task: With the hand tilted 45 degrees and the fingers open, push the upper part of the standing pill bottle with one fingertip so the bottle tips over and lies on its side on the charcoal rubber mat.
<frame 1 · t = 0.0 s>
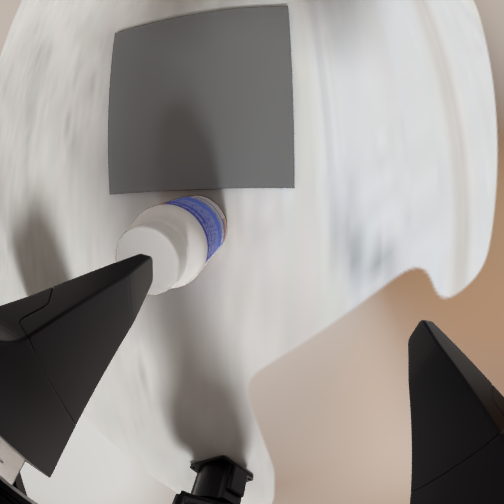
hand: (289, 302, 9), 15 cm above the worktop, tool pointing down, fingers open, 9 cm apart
rubber mat: (193, 94, 22), on the worktop
pill bottle: (197, 227, 25), on the worktop
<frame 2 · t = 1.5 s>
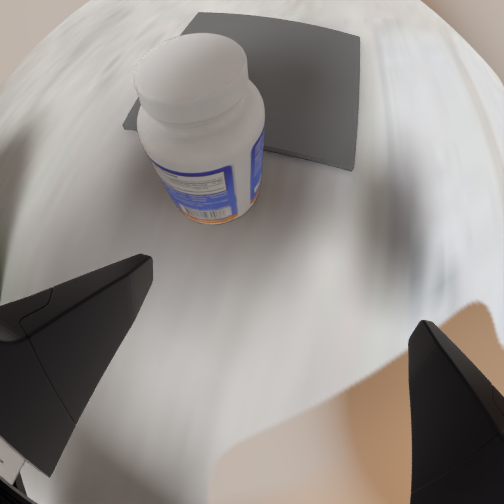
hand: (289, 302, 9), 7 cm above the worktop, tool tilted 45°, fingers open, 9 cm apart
rubber mat: (258, 67, 21), on the worktop
pill bottle: (216, 187, 18), on the worktop
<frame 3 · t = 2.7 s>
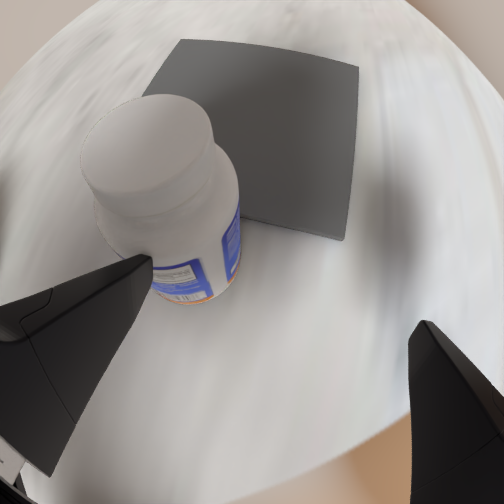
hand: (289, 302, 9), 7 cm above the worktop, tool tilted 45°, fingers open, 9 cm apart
rubber mat: (243, 110, 20), on the worktop
pill bottle: (192, 260, 17), on the worktop, touching gripper
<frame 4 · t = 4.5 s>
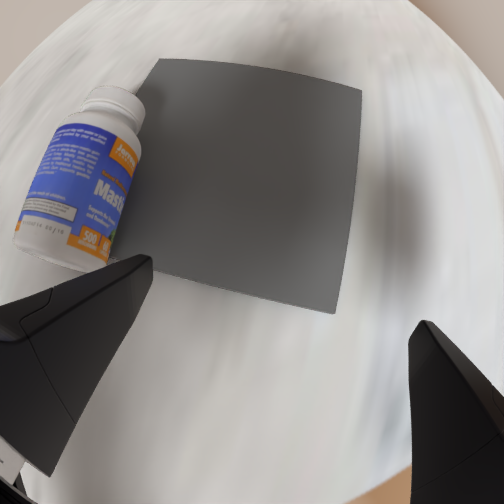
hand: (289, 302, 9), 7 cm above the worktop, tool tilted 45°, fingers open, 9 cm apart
rubber mat: (225, 152, 18), on the worktop
pill bottle: (55, 265, 13), point 3 cm above the worktop, touching rubber mat
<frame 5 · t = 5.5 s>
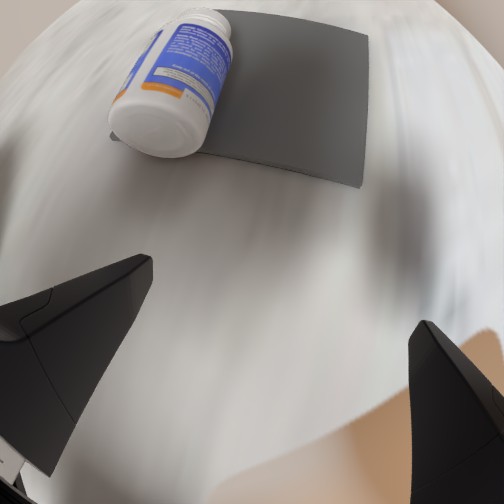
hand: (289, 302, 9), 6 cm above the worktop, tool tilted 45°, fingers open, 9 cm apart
rubber mat: (257, 69, 19), on the worktop
pill bottle: (150, 137, 14), point 3 cm above the worktop, touching rubber mat
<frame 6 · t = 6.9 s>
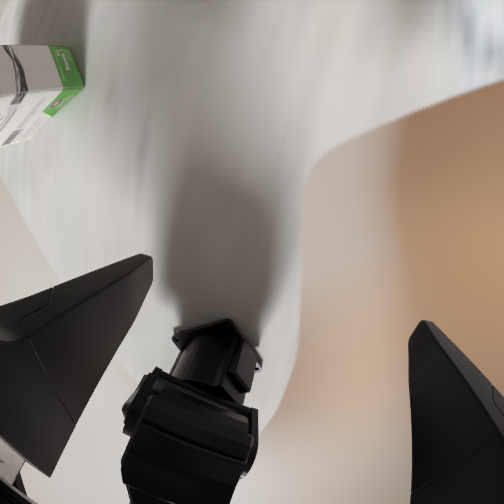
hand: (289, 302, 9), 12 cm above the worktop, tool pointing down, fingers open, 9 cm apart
ink box: (48, 95, 19), on the worktop
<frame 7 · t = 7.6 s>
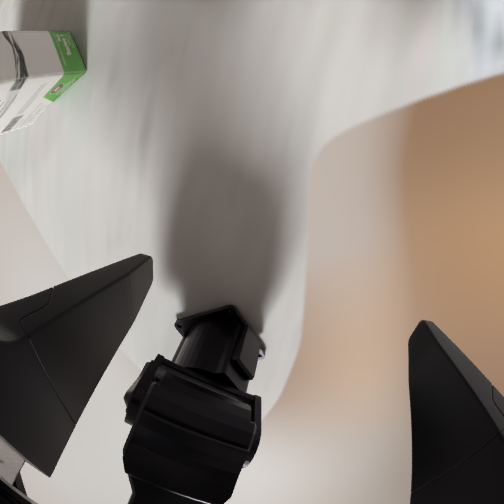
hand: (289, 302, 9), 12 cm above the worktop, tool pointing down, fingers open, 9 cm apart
ink box: (49, 80, 18), on the worktop
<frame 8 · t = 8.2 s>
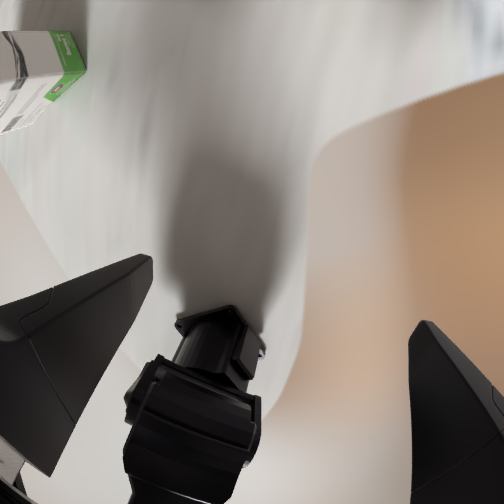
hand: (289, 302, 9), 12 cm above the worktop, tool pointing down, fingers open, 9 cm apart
ink box: (49, 80, 18), on the worktop
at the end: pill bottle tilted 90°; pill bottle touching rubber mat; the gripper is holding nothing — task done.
